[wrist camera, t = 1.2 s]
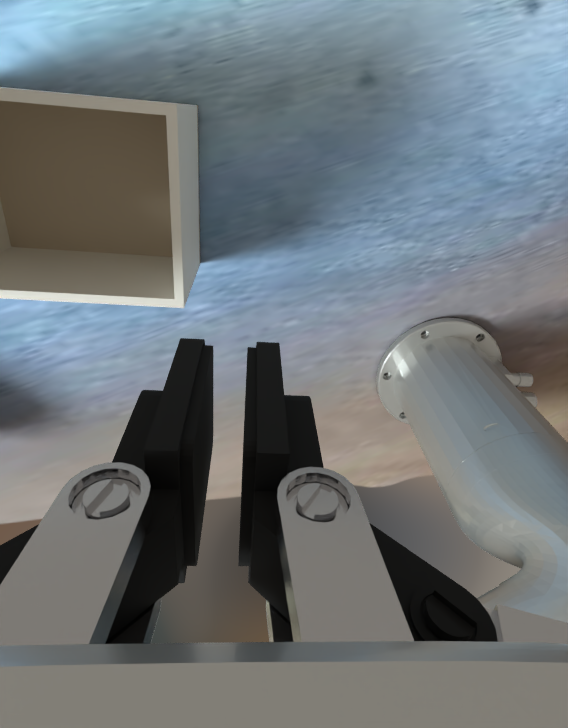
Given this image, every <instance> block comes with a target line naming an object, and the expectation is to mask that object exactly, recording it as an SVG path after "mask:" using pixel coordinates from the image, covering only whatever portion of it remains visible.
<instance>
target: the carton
mask: <svg viewBox="0 0 568 728" xmlns="http://www.w3.org/2000/svg"><path fill="white" fill-rule="evenodd" d="M199 266H200V208H199V139H198V105H191V104H180V103H170V102H159V101H148V100H137V99H126V98H116V97H105V96H94V95H83V94H72V93H61V92H51V91H40V90H29V89H18V88H7V87H0V298H5V299H24V300H42V301H61V302H80V303H99V304H118V305H136V306H155V307H174V308H184V307H185V304H186V301H187V298H188V296H189V293H190V290H191V287H192V285H193V282H194V279H195V277H196V274H197V271H198V268H199Z"/></svg>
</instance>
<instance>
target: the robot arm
mask: <svg viewBox="0 0 568 728" xmlns="http://www.w3.org/2000/svg"><path fill="white" fill-rule="evenodd" d="M423 331H424V332H423ZM422 332H423V333H422ZM532 384H533V376H532V375H531V374H530V373H510V372H509V371H508V370H507V369H506V368H505V367H504V365H503V364H502V356H501V352H500V348H499V346H498V345H497V343H496V341H495V339H494V338H493V337H492V336H491V335H490V334H489V333H488V332H487V331H486V330H484V329H483V328H482V327H481V326H479V325H477V324H475V323H473V322H471V321H468V320H464V319H460V318H441V319H434V320H431V321H427V322H424V323H421V324H419V325H417V326H415V327H413V328H411V329H409V330H408V331H407V332H405V333H404V334H402V335H401V336H400V337H399V338H398V339H396V340H395V341H394V342H393V343H392V344H391V346H390V347H389V348H388V350H387V351H386V352H385V354H384V356H383V358H382V360H381V362H380V364H379V367H378V371H377V379H376V385H377V391H378V394H379V397H380V399H381V402H382V403H383V405H384V407H385V408H386V410H387V411H388V412H389V413H390V414H391V415H392V416H393V417H395V418H396V419H398V420H399V421H401V422H404V423H406V424H409V425H410V426H411V428H412V431H413V433H414V435H415V437H416V439H417V441H418V443H419V445H420V447H421V449H422V451H423V453H424V455H425V457H426V459H427V462H428V464H429V466H430V468H431V470H432V472H433V474H434V476H435V478H436V480H437V482H438V484H439V486H440V488H441V491H442V493H443V495H444V497H445V499H446V501H447V503H448V505H449V507H450V509H451V512H452V514H453V516H454V518H455V519H456V521H457V523H458V525H459V526H460V528H461V529H462V531H463V532H464V533H465V534H466V536H467V537H468V538H469V539H470V540H471V541H473V542H474V543H475V544H476V545H477V546H478V547H480V548H481V549H483V550H484V551H486V552H488V553H489V554H491V555H492V556H494V557H496V558H499V559H500V560H503V561H505V562H507V563H509V564H511V565H514V566H516V567H519V568H521V570H520V571H519V572H518V573H517V574H515V575H514V576H512V577H510V578H509V579H507V580H506V581H504V582H502V583H501V584H500V585H499V586H498V587H496V588H494V589H492V590H491V591H489V592H487V593H485V594H484V595H482V596H480V597H478V598H475V597H474V596H473V595H472V594H471V593H470V592H468V591H467V590H466V589H465V588H463V587H462V586H460V585H459V584H457V583H456V582H455V581H453V580H452V579H450V578H449V577H447V576H446V575H444V574H443V573H441V572H440V571H439V570H437V569H436V568H434V567H432V566H431V565H430V564H428V563H427V562H425V561H424V560H422V559H421V558H419V557H418V556H416V555H415V554H414V553H412V552H411V551H409V550H408V549H407V548H405V547H404V546H402V545H401V544H399V543H398V542H396V541H395V540H393V539H392V538H391V537H389V536H387V535H386V534H385V533H383V532H382V531H380V530H379V529H377V528H376V527H374V526H373V525H371V524H370V523H369V521H368V519H367V516H366V513H365V511H364V508H363V505H362V503H361V500H360V498H359V495H358V493H357V491H356V489H355V488H354V486H353V484H352V483H350V482H349V481H348V480H347V479H346V478H345V477H344V476H342V475H340V474H338V473H336V472H335V471H332V470H329V469H325V468H323V462H322V457H321V452H320V446H319V441H318V435H317V430H316V425H315V419H314V414H313V408H312V403H311V399H310V397H309V396H291V395H284V389H283V378H282V367H281V357H280V346H279V343H268V342H257V345H256V348H250V347H248V353H247V376H246V398H245V420H244V443H243V467H242V492H241V517H240V541H239V566H249V583H250V585H251V586H252V587H253V588H254V589H256V590H257V591H258V592H259V593H260V594H261V595H262V596H263V597H264V598H265V599H266V614H267V623H268V632H269V640H270V642H245V643H243V642H242V643H156V644H155V643H153V644H151V640H152V637H153V633H154V630H155V626H156V622H157V619H158V616H159V612H160V608H161V597H162V596H164V595H165V594H166V593H167V592H169V591H170V590H171V589H173V588H174V587H175V586H176V585H178V583H184V582H185V575H186V569H187V566H196V565H197V560H198V553H199V546H200V537H201V530H202V523H203V515H204V507H205V500H206V493H207V485H208V477H209V470H210V462H211V455H212V447H213V346H207V345H205V341H204V339H184V338H181V339H180V341H179V344H178V347H177V350H176V353H175V356H174V359H173V362H172V365H171V368H170V371H169V374H168V377H167V380H166V383H165V386H164V389H163V391H156V390H143V391H142V392H141V394H140V396H139V398H138V400H137V403H136V405H135V408H134V410H133V413H132V415H131V417H130V420H129V422H128V425H127V427H126V430H125V432H124V435H123V437H122V439H121V442H120V444H119V447H118V449H117V452H116V454H115V456H114V459H113V461H112V463H104V464H100V465H95V466H93V467H90V468H88V469H86V470H83V471H81V472H80V473H78V474H77V475H76V476H74V477H73V478H71V479H70V480H69V481H68V483H67V484H66V485H65V486H64V487H63V488H62V490H61V491H60V493H59V494H58V496H57V498H56V499H55V501H54V502H53V504H52V505H51V507H50V508H49V510H48V512H47V513H46V515H45V516H44V518H43V519H42V521H41V523H40V524H39V525H37V526H35V527H33V528H31V529H30V530H28V531H26V532H24V533H23V534H20V535H19V536H17V537H15V538H13V539H11V540H9V541H8V542H6V543H4V544H2V545H0V728H568V442H567V441H566V440H565V439H564V438H563V437H562V436H561V435H560V434H559V433H558V432H557V431H556V429H555V428H554V427H553V426H552V425H551V424H550V423H549V422H548V421H547V420H546V419H545V418H544V417H543V416H542V414H541V413H540V412H539V411H538V410H537V409H536V406H537V397H536V395H535V394H534V393H532V392H520V391H519V390H518V389H517V388H516V387H530V386H531V385H532ZM515 386H516V387H515Z"/></svg>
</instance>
